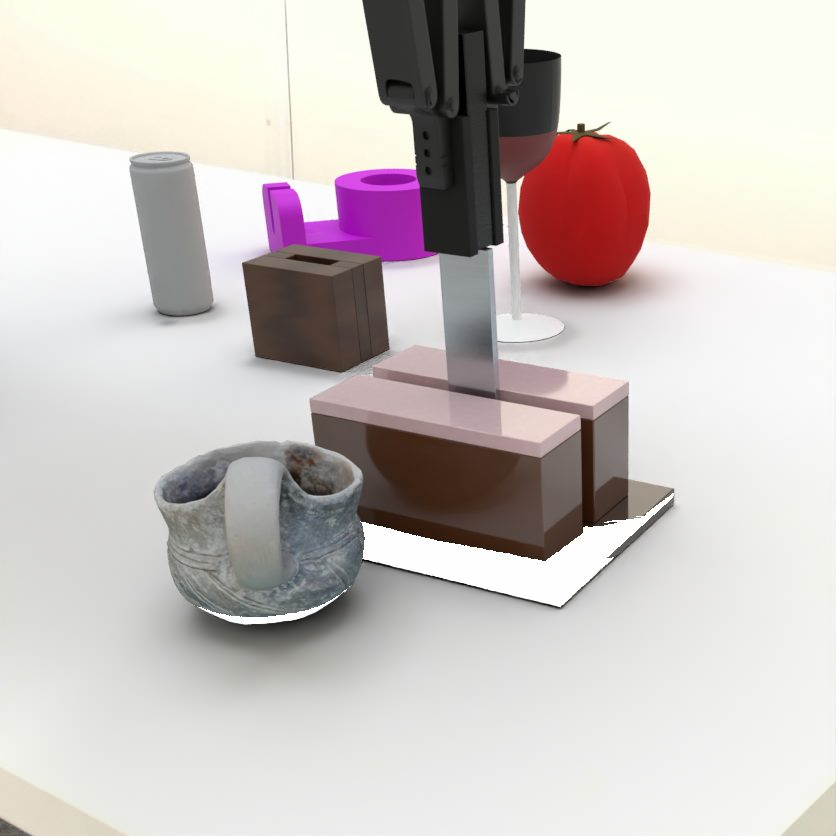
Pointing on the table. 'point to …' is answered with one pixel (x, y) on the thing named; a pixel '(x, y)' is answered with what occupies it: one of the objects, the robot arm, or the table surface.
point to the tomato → (586, 208)
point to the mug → (263, 527)
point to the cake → (487, 454)
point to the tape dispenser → (354, 216)
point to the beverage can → (171, 232)
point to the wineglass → (519, 154)
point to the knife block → (317, 306)
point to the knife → (474, 276)
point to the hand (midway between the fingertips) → (464, 246)
